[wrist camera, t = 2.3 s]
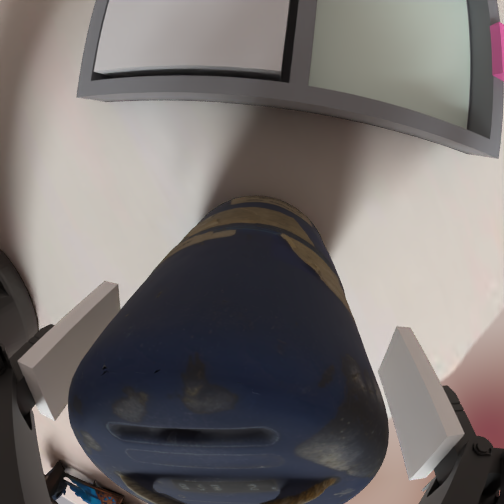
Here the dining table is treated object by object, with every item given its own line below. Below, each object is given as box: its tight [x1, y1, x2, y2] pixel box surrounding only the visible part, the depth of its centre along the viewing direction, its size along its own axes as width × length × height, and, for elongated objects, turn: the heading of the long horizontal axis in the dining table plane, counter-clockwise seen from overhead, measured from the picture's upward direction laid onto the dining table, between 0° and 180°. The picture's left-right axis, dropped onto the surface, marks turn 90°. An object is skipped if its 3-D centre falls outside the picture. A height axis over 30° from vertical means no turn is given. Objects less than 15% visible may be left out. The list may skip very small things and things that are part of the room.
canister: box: [68, 196, 389, 504], centre depth 14 cm, size 10×10×18 cm
